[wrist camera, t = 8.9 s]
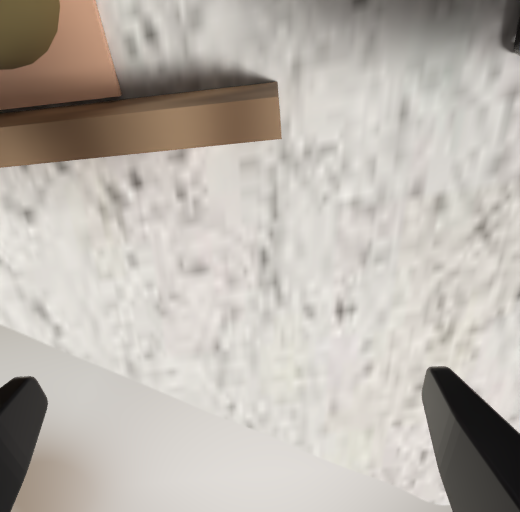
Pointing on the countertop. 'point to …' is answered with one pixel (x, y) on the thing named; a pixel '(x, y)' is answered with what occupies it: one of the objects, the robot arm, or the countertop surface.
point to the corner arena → (116, 105)
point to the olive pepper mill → (26, 30)
